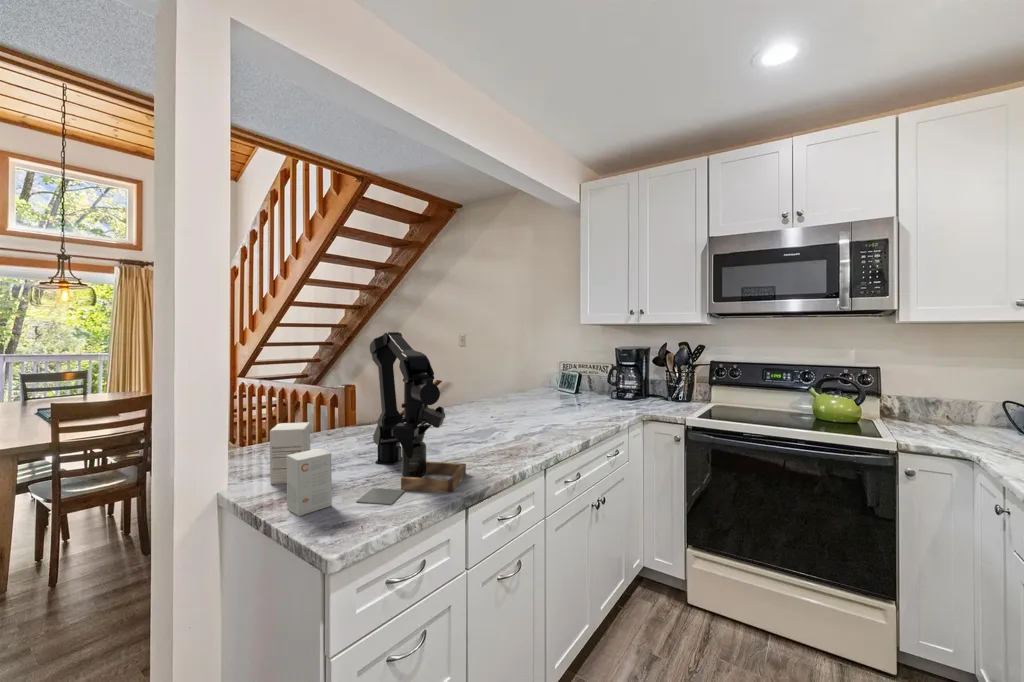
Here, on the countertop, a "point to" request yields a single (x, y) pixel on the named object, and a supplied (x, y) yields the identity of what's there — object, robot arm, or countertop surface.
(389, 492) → the slate mat
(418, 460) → the supplement bottle
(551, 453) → the countertop surface
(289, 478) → the small box
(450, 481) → the frame
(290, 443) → the supplement box
